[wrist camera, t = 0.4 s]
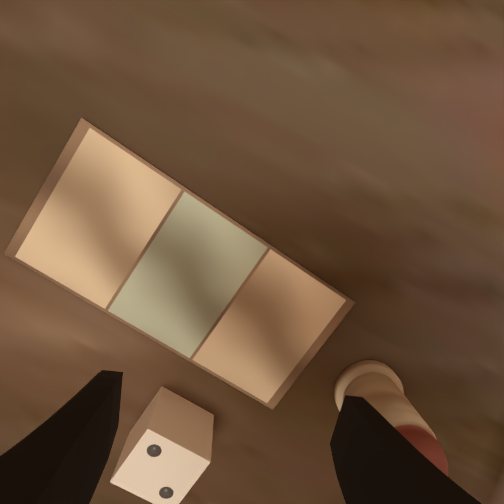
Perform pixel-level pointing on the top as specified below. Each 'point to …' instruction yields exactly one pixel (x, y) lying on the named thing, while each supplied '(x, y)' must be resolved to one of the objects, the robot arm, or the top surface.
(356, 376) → the pawn
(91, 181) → the board
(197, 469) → the die
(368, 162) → the top surface
